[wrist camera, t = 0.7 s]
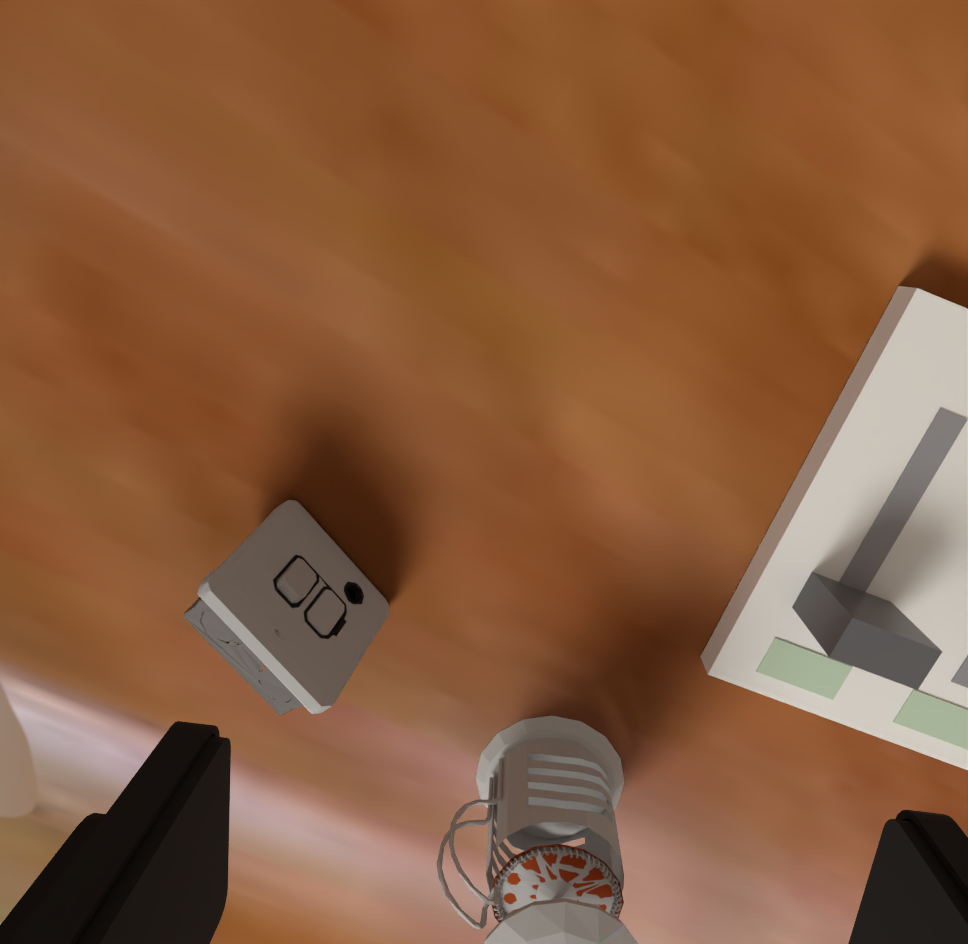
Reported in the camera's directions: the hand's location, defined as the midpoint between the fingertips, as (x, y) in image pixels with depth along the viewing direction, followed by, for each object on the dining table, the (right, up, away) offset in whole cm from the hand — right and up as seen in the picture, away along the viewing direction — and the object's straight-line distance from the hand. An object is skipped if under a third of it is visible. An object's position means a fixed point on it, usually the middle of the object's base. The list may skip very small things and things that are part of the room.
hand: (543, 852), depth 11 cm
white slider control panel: (+26, +1, +34) cm, 42 cm away
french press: (+3, -15, +40) cm, 42 cm away
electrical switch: (-11, -1, +36) cm, 38 cm away
